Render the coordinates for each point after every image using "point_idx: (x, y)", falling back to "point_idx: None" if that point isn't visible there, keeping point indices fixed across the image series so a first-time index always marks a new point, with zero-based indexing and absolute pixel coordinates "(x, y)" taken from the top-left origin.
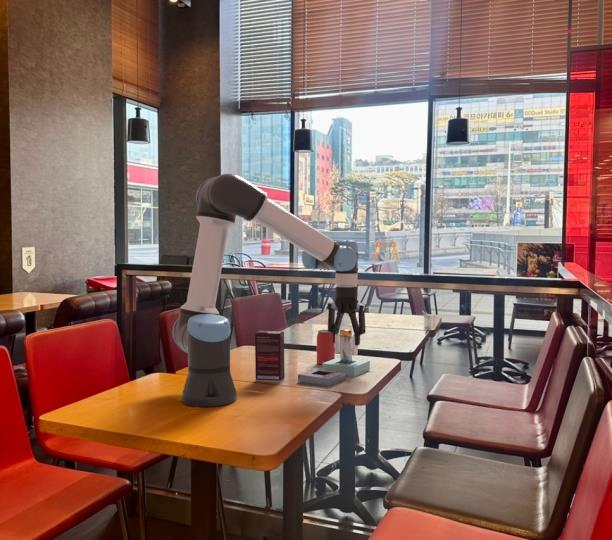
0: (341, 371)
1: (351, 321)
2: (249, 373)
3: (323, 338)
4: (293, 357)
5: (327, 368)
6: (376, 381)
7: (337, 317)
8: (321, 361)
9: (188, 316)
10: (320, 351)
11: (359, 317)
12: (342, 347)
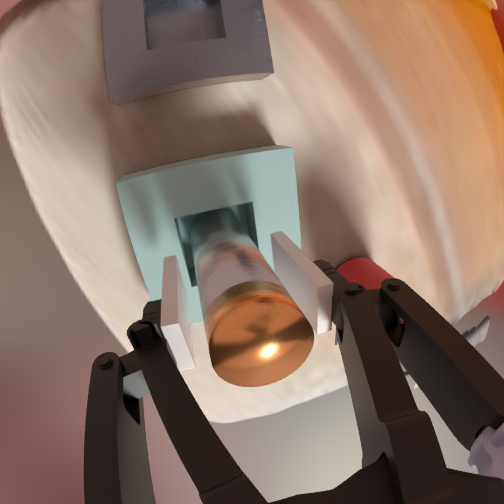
0: (125, 91)
1: (205, 430)
2: (433, 40)
3: None
4: (439, 271)
5: (258, 150)
6: (36, 195)
7: (397, 394)
8: (358, 261)
9: None
10: (382, 277)
11: (108, 486)
12: (235, 246)
